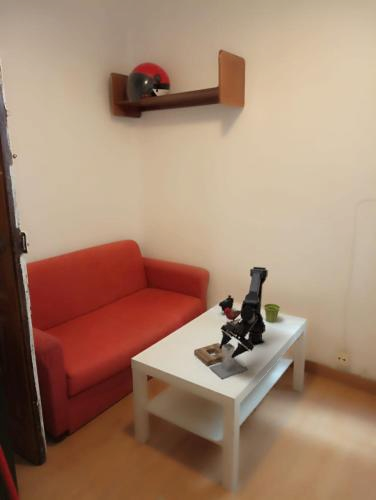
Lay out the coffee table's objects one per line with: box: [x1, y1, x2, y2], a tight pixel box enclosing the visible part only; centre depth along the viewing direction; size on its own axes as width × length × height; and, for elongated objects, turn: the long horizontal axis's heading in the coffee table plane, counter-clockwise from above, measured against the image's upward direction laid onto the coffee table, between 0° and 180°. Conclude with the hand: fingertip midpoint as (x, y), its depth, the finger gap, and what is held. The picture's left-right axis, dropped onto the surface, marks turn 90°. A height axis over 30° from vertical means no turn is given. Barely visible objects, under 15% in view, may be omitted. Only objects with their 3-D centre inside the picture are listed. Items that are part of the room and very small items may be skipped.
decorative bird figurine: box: [223, 308, 241, 323], centre depth 214 cm, size 3×18×10 cm, turn 126°
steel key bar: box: [221, 342, 236, 371], centre depth 165 cm, size 4×4×11 cm
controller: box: [218, 294, 235, 313], centre depth 226 cm, size 4×12×10 cm, turn 140°
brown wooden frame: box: [193, 342, 222, 367], centre depth 178 cm, size 14×12×2 cm
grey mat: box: [208, 359, 248, 380], centre depth 167 cm, size 14×10×1 cm
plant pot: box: [263, 303, 281, 323], centre depth 214 cm, size 9×9×9 cm
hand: (225, 352), depth 164 cm, fingers open, 9 cm apart
